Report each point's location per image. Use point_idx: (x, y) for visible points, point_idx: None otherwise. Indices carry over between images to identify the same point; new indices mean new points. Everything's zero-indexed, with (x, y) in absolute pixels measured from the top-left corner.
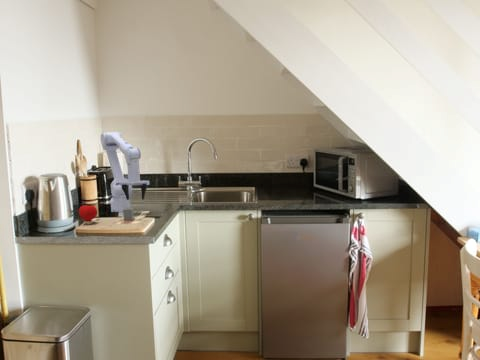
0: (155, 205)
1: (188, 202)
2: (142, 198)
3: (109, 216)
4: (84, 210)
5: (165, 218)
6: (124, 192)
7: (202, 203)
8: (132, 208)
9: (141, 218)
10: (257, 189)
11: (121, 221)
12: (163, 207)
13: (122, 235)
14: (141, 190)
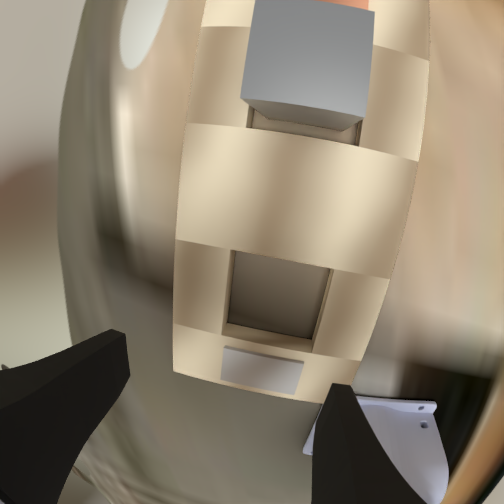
0: (196, 486)
1: (82, 455)
2: (109, 335)
3: (452, 370)
4: None
5: (64, 188)
6: (399, 477)
7: None
8: (251, 63)
9: (197, 117)
10: None
11: (375, 50)
12: (147, 447)
13: None
14: (22, 397)
